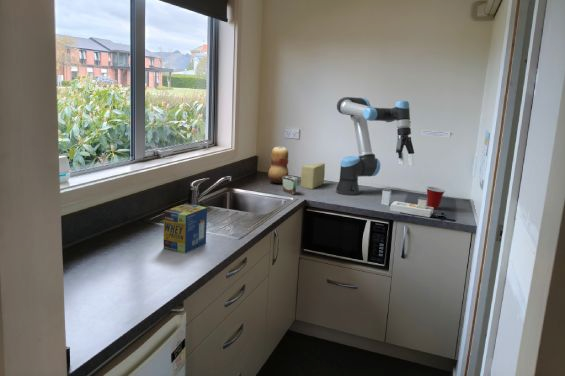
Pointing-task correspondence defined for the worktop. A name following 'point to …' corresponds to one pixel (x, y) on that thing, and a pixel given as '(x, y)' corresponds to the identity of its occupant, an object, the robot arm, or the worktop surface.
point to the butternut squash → (278, 164)
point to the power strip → (412, 209)
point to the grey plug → (386, 196)
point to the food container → (289, 184)
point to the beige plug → (422, 202)
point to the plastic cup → (434, 196)
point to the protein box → (185, 227)
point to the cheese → (312, 175)
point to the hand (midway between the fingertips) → (406, 164)
